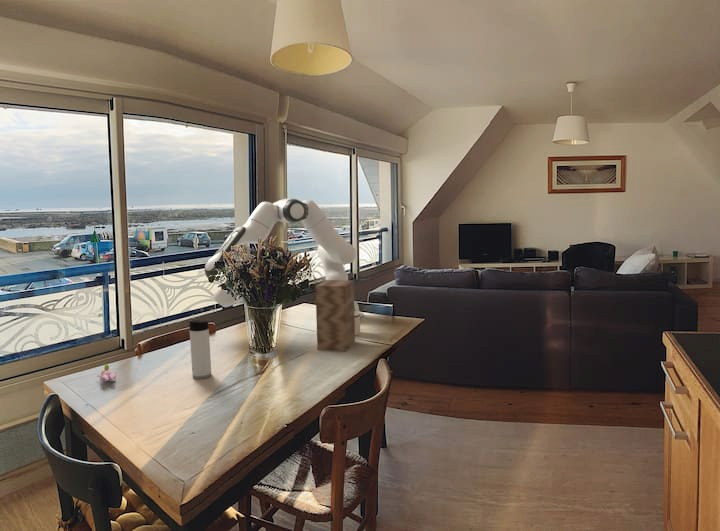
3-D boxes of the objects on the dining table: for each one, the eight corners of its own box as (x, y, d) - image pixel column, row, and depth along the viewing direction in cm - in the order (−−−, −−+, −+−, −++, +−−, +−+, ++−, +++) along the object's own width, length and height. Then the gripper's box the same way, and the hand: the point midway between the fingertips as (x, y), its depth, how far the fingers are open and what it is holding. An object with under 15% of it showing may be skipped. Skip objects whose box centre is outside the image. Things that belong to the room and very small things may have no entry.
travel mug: (188, 379, 174) (184, 321, 172) (197, 372, 181) (194, 317, 178) (206, 380, 173) (202, 322, 170) (214, 373, 180) (211, 317, 177)
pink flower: (96, 380, 179) (99, 387, 166) (94, 363, 179) (97, 368, 166) (116, 377, 182) (120, 383, 169) (114, 360, 182) (119, 365, 169)
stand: (317, 349, 205) (315, 285, 202) (327, 340, 219) (325, 279, 215) (346, 351, 202) (345, 286, 199) (354, 341, 216) (353, 280, 212)
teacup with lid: (363, 331, 231) (363, 306, 229) (355, 337, 223) (355, 310, 221) (339, 329, 236) (339, 304, 234) (330, 334, 227) (330, 308, 226)
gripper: (232, 281, 206) (259, 264, 202) (254, 273, 225) (279, 258, 222) (240, 294, 206) (267, 278, 202) (261, 286, 225) (286, 271, 222)
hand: (274, 267), depth 212 cm, fingers closed on t bar, 3 cm apart
